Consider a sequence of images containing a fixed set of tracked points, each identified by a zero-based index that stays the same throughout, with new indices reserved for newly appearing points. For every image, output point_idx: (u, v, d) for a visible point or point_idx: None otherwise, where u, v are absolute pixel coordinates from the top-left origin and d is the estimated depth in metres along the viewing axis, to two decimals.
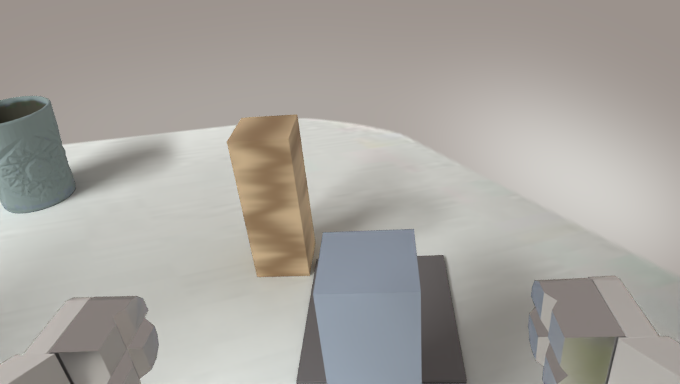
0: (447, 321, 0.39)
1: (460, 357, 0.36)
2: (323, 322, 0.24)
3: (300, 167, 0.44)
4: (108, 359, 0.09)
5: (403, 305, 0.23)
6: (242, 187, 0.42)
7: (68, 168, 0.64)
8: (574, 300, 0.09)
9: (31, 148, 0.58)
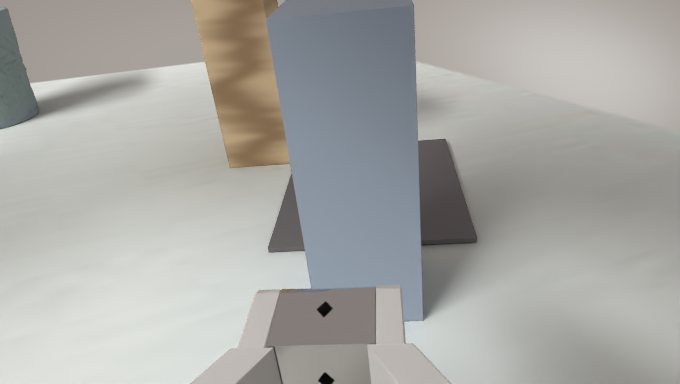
0: (451, 190, 0.33)
1: (468, 218, 0.30)
2: (283, 71, 0.18)
3: None
4: (323, 354, 0.09)
5: (391, 32, 0.17)
6: (207, 45, 0.35)
7: (29, 88, 0.58)
8: (348, 308, 0.09)
9: None
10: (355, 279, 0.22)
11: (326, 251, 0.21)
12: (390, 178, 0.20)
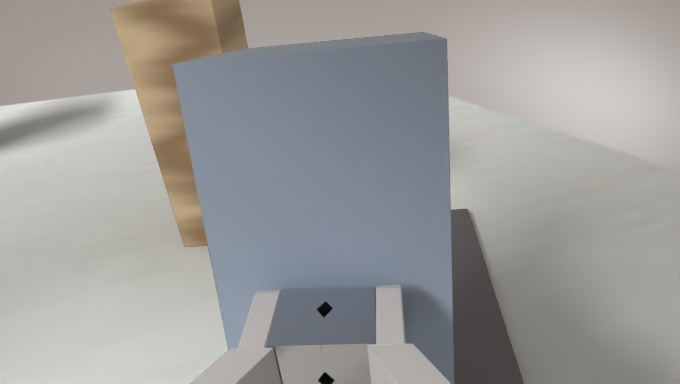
0: (483, 303, 0.23)
1: (513, 363, 0.20)
2: (205, 158, 0.10)
3: None
4: (323, 354, 0.09)
5: (403, 88, 0.09)
6: (145, 93, 0.26)
7: None
8: (348, 308, 0.09)
9: None
10: None
11: None
12: None
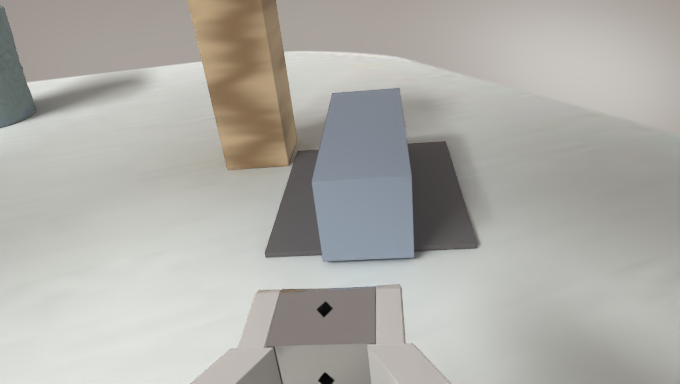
0: (451, 194, 0.32)
1: (468, 223, 0.29)
2: (334, 101, 0.35)
3: (275, 31, 0.37)
4: (323, 354, 0.09)
5: (388, 92, 0.36)
6: (204, 46, 0.35)
7: (26, 87, 0.58)
8: (348, 308, 0.09)
9: None
10: (354, 157, 0.27)
11: (336, 146, 0.28)
12: (385, 120, 0.31)
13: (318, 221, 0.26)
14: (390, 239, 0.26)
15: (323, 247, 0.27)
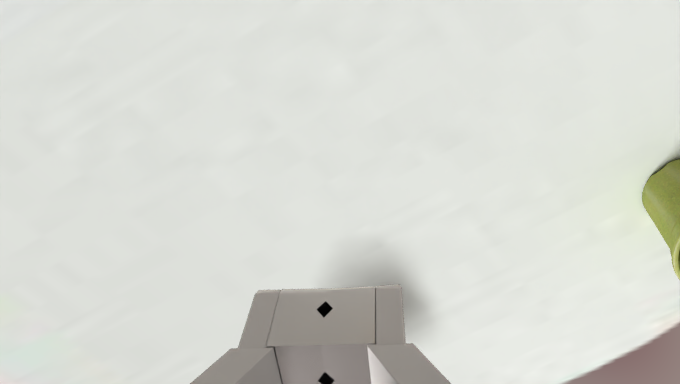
0: None
1: None
2: None
3: None
4: (323, 354, 0.09)
5: None
6: None
7: None
8: (348, 308, 0.09)
9: None
10: None
11: None
12: None
13: None
14: None
15: None
